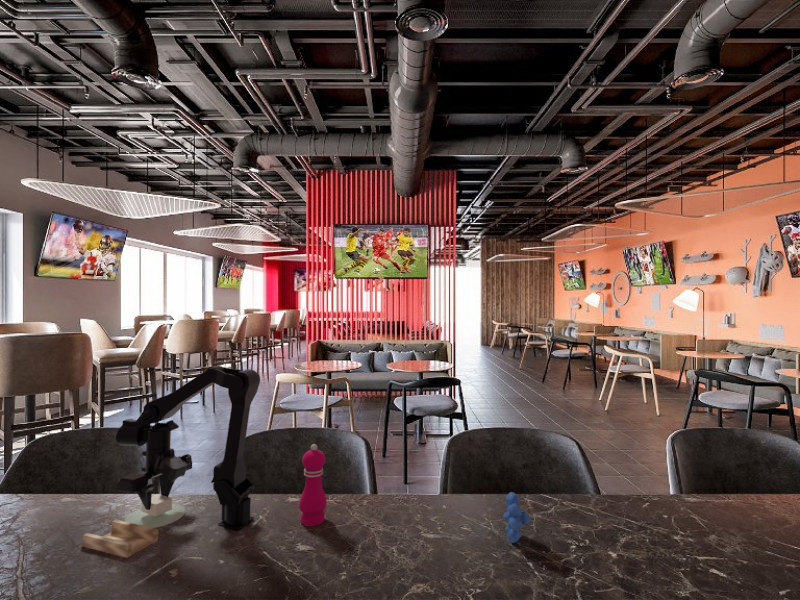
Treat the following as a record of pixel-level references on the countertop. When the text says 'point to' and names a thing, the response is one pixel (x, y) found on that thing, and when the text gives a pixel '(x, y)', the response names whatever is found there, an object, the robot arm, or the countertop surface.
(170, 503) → the cream block
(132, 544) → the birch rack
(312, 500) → the pepper mill
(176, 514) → the green plate
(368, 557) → the countertop surface
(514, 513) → the grapes
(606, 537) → the countertop surface
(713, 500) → the countertop surface
